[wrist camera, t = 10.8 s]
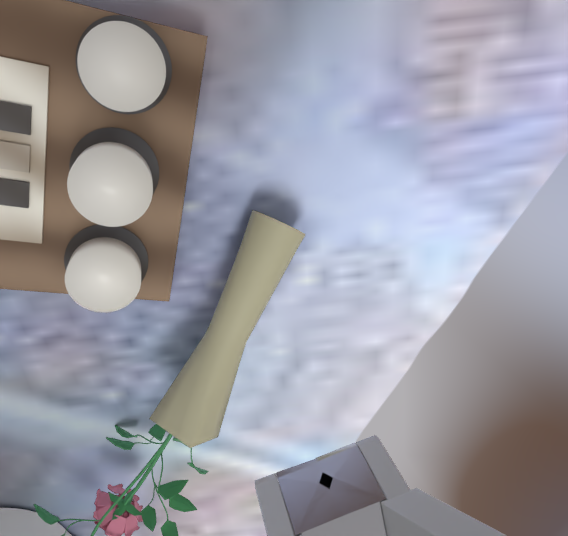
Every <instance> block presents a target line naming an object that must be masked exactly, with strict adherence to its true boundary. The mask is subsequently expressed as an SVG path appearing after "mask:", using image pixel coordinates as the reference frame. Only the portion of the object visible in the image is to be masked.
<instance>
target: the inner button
mask: <svg viewBox="0 0 568 536" xmlns="http://www.w3.org/2000/svg"><path fill="white" fill-rule="evenodd" d="M65 286H66V289H67V291H68V293H69V295H70V297H71V298H72V299H73V300H74V301H75V302H76V303H77V304H78V305H80V306H82V307H83V308H85V309H88V310H91V311H95V312H113V311H117V310H120V309H122V308H124V307H126V306H127V305H129V304H130V303H131V302H132V301H133V300H134V299H135V298H136V296H137V294H138V292H139V290H140V286H141V263H140V260H139V257H138V255H137V254H136V252H135V251H134V250H133V249H132V248H131V247H130V246H129V245H127V244H126V243H124V242H122V241H120V240H118V239H114V238H109V237H99V238H94V239H91V240H88V241H86V242H84V243H83V244H81V245H80V246H79V247H78V248H77V249H76V250H75V251H74V252H73V254H72V256H71V258H70V261H69V264H68V266H67V269H66V272H65Z"/></svg>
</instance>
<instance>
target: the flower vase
mask: <svg viewBox="0 0 568 536" xmlns="http://www.w3.org/2000/svg"><path fill="white" fill-rule="evenodd" d="M304 236H305V234H304V233H302V232H300V231H298V230H297V229H295V228H293V227H291V226H288V225H286V224H284V223H282V222H280V221H278V220H276V219H274V218H271V217H269V216H267V215H264V214H262V213H260V212H257V211H254V210H252V213H251V216H250V219H249V222H248V225H247V228H246V231H245V234H244V237H243V240H242V243H241V246H240V248H239V251H238V254H237V256H236V259H235V261H234V264H233V267H232V269H231V272H230V274H229V277H228V279H227V282H226V284H225V287H224V289H223V292H222V294H221V297H220V300H219V302H218V305H217V307H216V310H215V312H214V315H213V317H212V320H211V322H210V325H209V327H208V329H207V331H206V333H205V335H204V336H203V338H202V339H201V341H200V342H199V344H198V345H197V347H196V348H195V350H194V351H193V353H192V354H191V356H190V357H189V359H188V361H187V362H186V364H185V365H184V367H183V368H182V370H181V371H180V373H179V374H178V376H177V377H176V379H175V380H174V382H173V383H172V385H171V386H170V388H169V389H168V391H167V392H166V394H165V395H164V397H163V399H162V400H161V402H160V403H159V405H158V406H157V408H156V409H155V411H154V412H153V414H152V415H151V417H150V418H149V419H151V420H152V421H153V422H155V423H156V424H155V425H154V426H153V427H152V428H151V429H150V431H149V432H148V433H150V434H151V435H152V436H153V437H155V438H156V439H158V440H159V441H161V440H162V439H163V436H164V434H165V432H166V431H167V432H169V435H168V436H167V438H166V440H165V441H164V442H163V443H155V442H152V441H151V440H152V439H153V438H152V439H151V440H148V439H146V438H145V437H143V436H141V435H136V436H134V435H132V434H130V433H128V432H127V431H125V430H123V429H122V428H120V427H118V426H116V425H115V427H116V431H117V432H118V433H119V434H120V435H121V436H122V437H125V438H130V437H137V436H141V437H143V438H144V439H146V440H148V441H150V443H155V444H162V445H161V447H160V448H159V449H158V451H157V452H156V453H155V455H154V456H153V457H152V458H151V460H150V461H149V462H148V463H147V465H146V466H145V467H144V468H143V470H142V471H141V472H140V473H139V475H138V476H137V477H136V478H135V479H134V480H133V482H132V483H131V484H130V485H129V486H128V487H127V489H126V490H125V489H123V488H122V487H123V485H122V484H119V485H116V486H111V485H110V484H108V489H109V490H111V491H112V492H114V493H119V495H114V494H112V493H110V492H108V493H106V492H103V491H100V489H98V491H97V498H96V501H95V503H94V504H95V505H96V511H95V512H94V516H93V517H94V518H96V520H82V519H64V520H80V521H95V524H96V527H95V528H94V530H93V532H92V534H91V536H94V534H95V532H96V531H97V529H98V527H100V528H102V529H103V530H105V534H106V535H109V536H121V535H122V534H123V533H125V536H131V535H132V533H133V532H134V531H135V530H138V529H139V527H138V526H137V523H138V522H142V521H143V522H144V524H145V526H147V527H148V528H149V529H150V530H151V531H153V530H154V528H155V525H156V513H155V509H154V508H152V507H150V506H149V505H148V506H147V507H145V508H144V509H143V510H142V511H141V509H142V507H143V506H139V504H138V503H137V501H138V500H139V497H138V496H137V495H134V494H135V493H136V491H137V490H138V489H139V488H140V486H141V485H142V483H143V482H144V480H145V479H146V477H147V476H148V474H149V473H150V471H151V470H152V468H153V467H154V465H155V463H156V462H157V460H158V458H159V457H160V455H161V458H162V452H163V450H164V449H165V447H166V445H167V444H168V442H169V440H170V439H171V437H172V435H173V436H174V437H176V438H174V439H173V440H174V441H178V442H181V443H183V444H184V445H186V446H188V447H190V448H191V461H192V447H194V446H196V445H199V444H202V443H204V442H207V441H209V440H212V439H214V438H217V437H218V435H219V431H220V428H221V425H222V421H223V418H224V414H225V411H226V407H227V404H228V401H229V397H230V394H231V390H232V387H233V384H234V380H235V377H236V373H237V370H238V367H239V363H240V360H241V356H242V353H243V350H244V347H245V345H246V342H247V340H248V338H249V336H250V334H251V332H252V331H253V329H254V327H255V325H256V323H257V321H258V320H259V318H260V316H261V314H262V312H263V310H264V309H265V307H266V305H267V303H268V301H269V300H270V298H271V296H272V294H273V292H274V290H275V289H276V287H277V285H278V283H279V281H280V279H281V278H282V276H283V274H284V272H285V270H286V268H287V267H288V265H289V263H290V261H291V259H292V257H293V256H294V254H295V252H296V250H297V249H298V247H299V245H300V243H301V242H302V240H303V238H304ZM106 438H107V439H108V440H109V441H110V442H111V443H113V444H114V445H115V446H117V447H120V448H122V449H124V450H131V449H132V447H133V445H134V444H135V443H132V442H129V441H122V440H118V439H114V438H108V437H106ZM137 443H140V442H137ZM142 444H149V443H142ZM188 464H189V465H190V466H191V467H193V468H195V469H196V470H197V471H198V472H199V473H200V474H206V473H207V472H208V471H207V470H203V469H200V468H197V467H195V466H194V464H193V461H192V463H188ZM149 465H150V466H149ZM148 467H149V468H148ZM147 468H148V469H147ZM146 469H147V471H146V472H145V470H146ZM162 471H163V458H162ZM162 471H161V476H162ZM144 472H145V474H144V475H143V477H142V478H141V480H140V481H139V483H138V484H137V486H136V487H135V488H134V489H133V490H132V491H131V489H130V488H131V487H132V486H133V485H134V484H135V482H136V481H137V480H138V479H139V478H140V476H141V475H142V474H143V473H144ZM161 476H160V481H161ZM152 478H153V471H152ZM160 481H159V486H158V487H157V486H156V484H155V482H154V478H153V482H154V486H155V487H154V490H155V489H156V487H157V488H158V491H157V489H156V491H157V494H158V493H159V494H160V495H161V496H162V497H163V498H164V499H165V500H166V499H169V507H171V508H173V509H175V510H179V511H183V512H188V511H194V510H197V509H196V507H195V506H194V505H193V504H192V503H191V502H190V500H188V499H186V498H185V497H183V496H181V495H179V494H178V493H179V492H181V490H182V489H183V487H184V486H185V485H186V483H187V482H188V480H177V481H172V482H169V483H167V484H163V485H160ZM126 493H127V495H126V496H124V495H125V494H126ZM159 494H158V496H159ZM153 498H154V493H153ZM153 498H152V500H153ZM159 498H160V496H159ZM160 500H161V498H160ZM151 502H152V501H151ZM151 502H150V503H151ZM161 502H162V500H161ZM150 503H149V504H150ZM162 504H163V502H162ZM34 506H35V509H36V511H37V514H38V516H39V517H40V518H41V519H42V520H43V521H44V522H46V523H48V524H50V525H52V524H54V523H56V522H58V521H64V520H59V518H58V517H56V516H54V515H52V514H50V513H49V512H48V511H46V510H45V509H43V508H41V507H39V506H37V505H36V504H34ZM163 506H164V504H163ZM164 508H165V506H164ZM165 511H166V508H165ZM166 513H167V511H166ZM137 520H138V522H137ZM76 522H79V521H76ZM76 522H74V523H76ZM74 523H72V524H74ZM72 524H71V525H72ZM71 525H69V526H68V528H69V527H70V526H71ZM68 528H67V529H68ZM67 529H66V531H67ZM66 531H65V533H64V534H63V535H61V536H65V534H66ZM161 531H162V535H163V536H178V531H177V527H176V523H175V522H172V521H169V520H168V514H167V521H166V522H165V524H164V525H163V526H162V527H161Z"/></svg>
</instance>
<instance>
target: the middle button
mask: <svg viewBox="0 0 568 536" xmlns="http://www.w3.org/2000/svg"><path fill="white" fill-rule="evenodd" d="M67 189H68V194H69V198H70V200H71V202H72V204H73V205H74V207H75V208H76V210H77V211H78V212H79V213H80V214H81V215H82V216H84V217H85V218H86V219H88V220H89V221H91V222H93V223H96V224H98V225H102V226H107V227H119V226H124V225H127V224H130V223H132V222H134V221H136V220H137V219H139V218H140V217H141V216H142V215H143V214H144V213H145V212H146V210H147V209H148V207H149V205H150V203H151V200H152V195H153V181H152V174H151V171H150V168H149V166H148V164H147V162H146V161H145V160H144V158H143V157H142V156H141V155H140V154H139V153H138V152H137V151H135V150H134V149H132V148H130V147H129V146H126V145H124V144H120V143H116V142H102V143H98V144H95V145H92V146H90V147H88V148H87V149H85V150H84V151H83V152H82V153H81V154H80V155H79V156H78V158H77V159H76V161H75V162H74V164H73V165H72V167H71V169H70V171H69V174H68V179H67Z"/></svg>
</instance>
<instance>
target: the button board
mask: <svg viewBox="0 0 568 536" xmlns="http://www.w3.org/2000/svg"><path fill="white" fill-rule="evenodd" d="M108 21H124V22H128V23H131V24H134V25H136V26H138V27H140V28H141V29H143V30H144V31H146V32H147V33H148V34H149V35H150V36H151V37H152V38H153V39H154V40H155V42H156V43H157V44H158V46H159V48H160V49H161V52H162V54H163V57H164V60H165V65H166V79H165V84H164V87H163V89H162V91H161V93H160V95H159V96H158V98H157V99H156V100H155V101H154V102H153V103H152V104H150V105H149V106H147V107H146V108H144V109H141V110H138V111H133V112H121V111H116V110H113V109H110V108H108V107H106V106H104V105H102V104H101V103H99V102H98V101H97V100H96V99H94V98H93V97H92V96H91V94H90V93H89V92H88V91H87V89H86V88H85V86H84V84H83V83H82V80H81V78H80V75H79V71H78V65H77V57H78V51H79V47H80V44H81V42H82V40H83V39H84V37H85V36H86V34H87V33H88V32H89V31H90V30H91V29H93V28H94V27H96V26H97V25H99V24H102V23H104V22H108ZM207 37H208V36H204V35H200V34H196V33H192V32H188V31H184V30H180V29H176V28H172V27H168V26H164V25H160V24H156V23H152V22H149V21H145V20H141V19H137V18H133V17H129V16H125V15H121V14H117V13H113V12H109V11H105V10H101V9H97V8H93V7H89V6H85V5H81V4H77V3H73V2H70V1H66V0H0V289H12V290H25V291H38V292H51V293H65V294H69V293H68V291H67V289H66V286H65V272H66V269H67V266H68V264H69V261H70V258H71V256H72V254H73V252H74V251H75V250H76V249H77V248H78V247H79V246H80V245H81V244H83V243H84V242H86V241H88V240H91V239H94V238H99V237H109V238H114V239H118V240H120V241H122V242H124V243H126V244H127V245H129V246H130V247H131V248H132V249H133V250H134V251H135V252H136V254H137V255H138V257H139V260H140V263H141V286H140V290H139V292H138V294H137V296H136V298H135V299H144V300H158V301H169V299H170V292H171V285H172V278H173V272H174V265H175V258H176V251H177V244H178V237H179V230H180V223H181V216H182V209H183V203H184V196H185V189H186V182H187V175H188V168H189V161H190V154H191V147H192V140H193V134H194V127H195V120H196V113H197V106H198V99H199V92H200V85H201V78H202V71H203V65H204V58H205V51H206V44H207ZM102 142H116V143H120V144H124V145H126V146H129V147H130V148H132V149H134V150H135V151H137V152H138V153H139V154H140V155H141V156H142V157H143V158H144V160H145V161H146V162H147V164H148V166H149V168H150V171H151V174H152V181H153V195H152V200H151V203H150V205H149V207H148V209H147V210H146V212H145V213H144V214H143V215H142V216H141V217H140V218H139V219H137V220H136V221H134V222H132V223H130V224H127V225H124V226H119V227H107V226H102V225H98V224H96V223H93V222H91V221H89V220H88V219H86V218H85V217H84V216H82V215H81V214H80V213H79V212H78V211H77V210H76V208H75V207H74V205H73V204H72V202H71V200H70V198H69V194H68V189H67V179H68V174H69V171H70V169H71V167H72V165H73V164H74V162H75V161H76V159H77V158H78V156H79V155H80V154H81V153H82V152H83V151H84V150H85V149H87V148H88V147H90V146H92V145H95V144H98V143H102Z"/></svg>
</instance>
